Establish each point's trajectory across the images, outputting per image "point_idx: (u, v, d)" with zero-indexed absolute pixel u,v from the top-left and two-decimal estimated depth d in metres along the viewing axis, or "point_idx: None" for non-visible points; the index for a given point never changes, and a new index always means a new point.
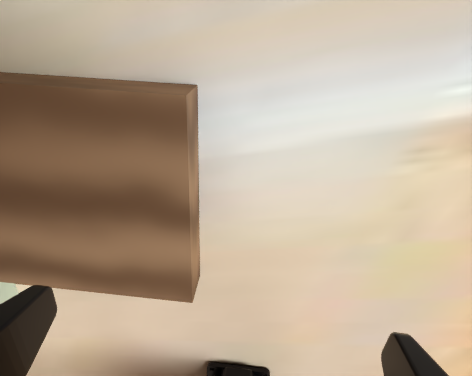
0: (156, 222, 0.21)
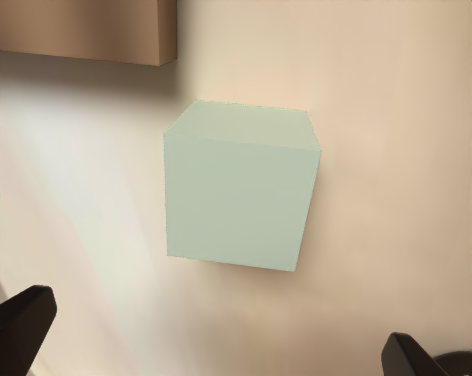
0: None
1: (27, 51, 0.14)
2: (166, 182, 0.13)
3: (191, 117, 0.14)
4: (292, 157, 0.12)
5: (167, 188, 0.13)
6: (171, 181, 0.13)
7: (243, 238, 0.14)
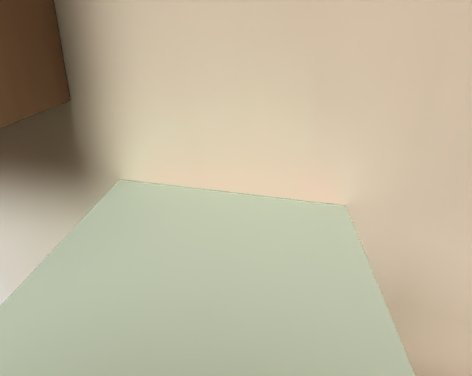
0: None
1: None
2: None
3: (63, 274, 0.05)
4: None
5: None
6: None
7: None
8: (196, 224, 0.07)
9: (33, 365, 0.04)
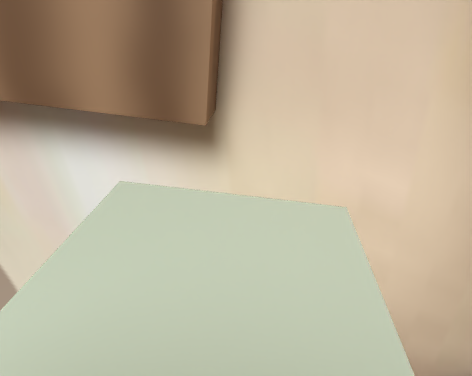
0: None
1: (80, 109, 0.15)
2: None
3: (65, 276, 0.05)
4: None
5: None
6: None
7: None
8: (197, 226, 0.07)
9: (35, 367, 0.04)
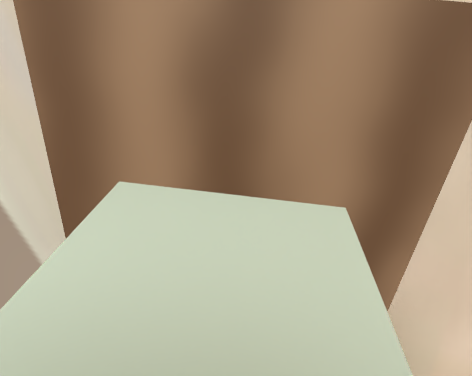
0: (266, 65, 0.11)
1: None
2: None
3: (64, 276, 0.05)
4: None
5: None
6: None
7: None
8: (196, 226, 0.07)
9: (34, 368, 0.04)
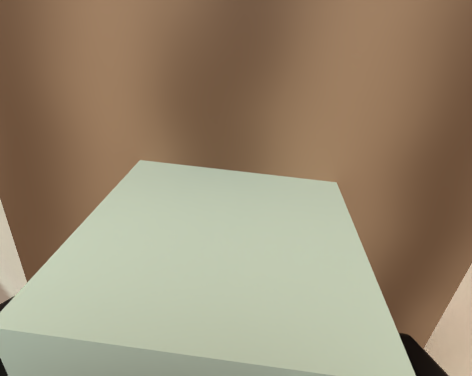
0: (267, 78, 0.08)
1: None
2: None
3: (105, 227, 0.07)
4: None
5: None
6: None
7: None
8: (209, 194, 0.08)
9: (93, 284, 0.05)
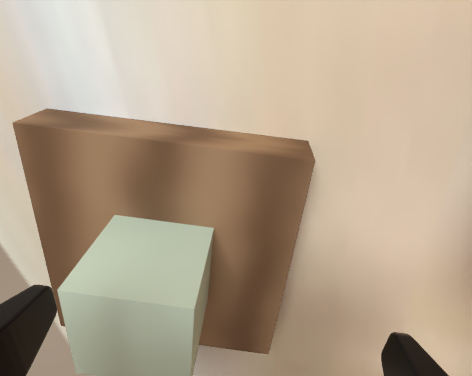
0: (174, 182, 0.18)
1: None
2: (66, 321, 0.15)
3: (96, 253, 0.16)
4: (171, 312, 0.14)
5: (67, 326, 0.15)
6: (70, 322, 0.15)
7: (140, 364, 0.16)
8: (145, 236, 0.17)
9: (91, 276, 0.15)
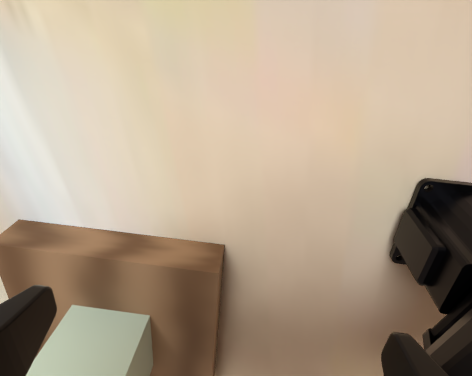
0: (114, 284, 0.22)
1: None
2: None
3: (51, 347, 0.21)
4: None
5: None
6: None
7: None
8: (92, 327, 0.22)
9: (43, 371, 0.19)
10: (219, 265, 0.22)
